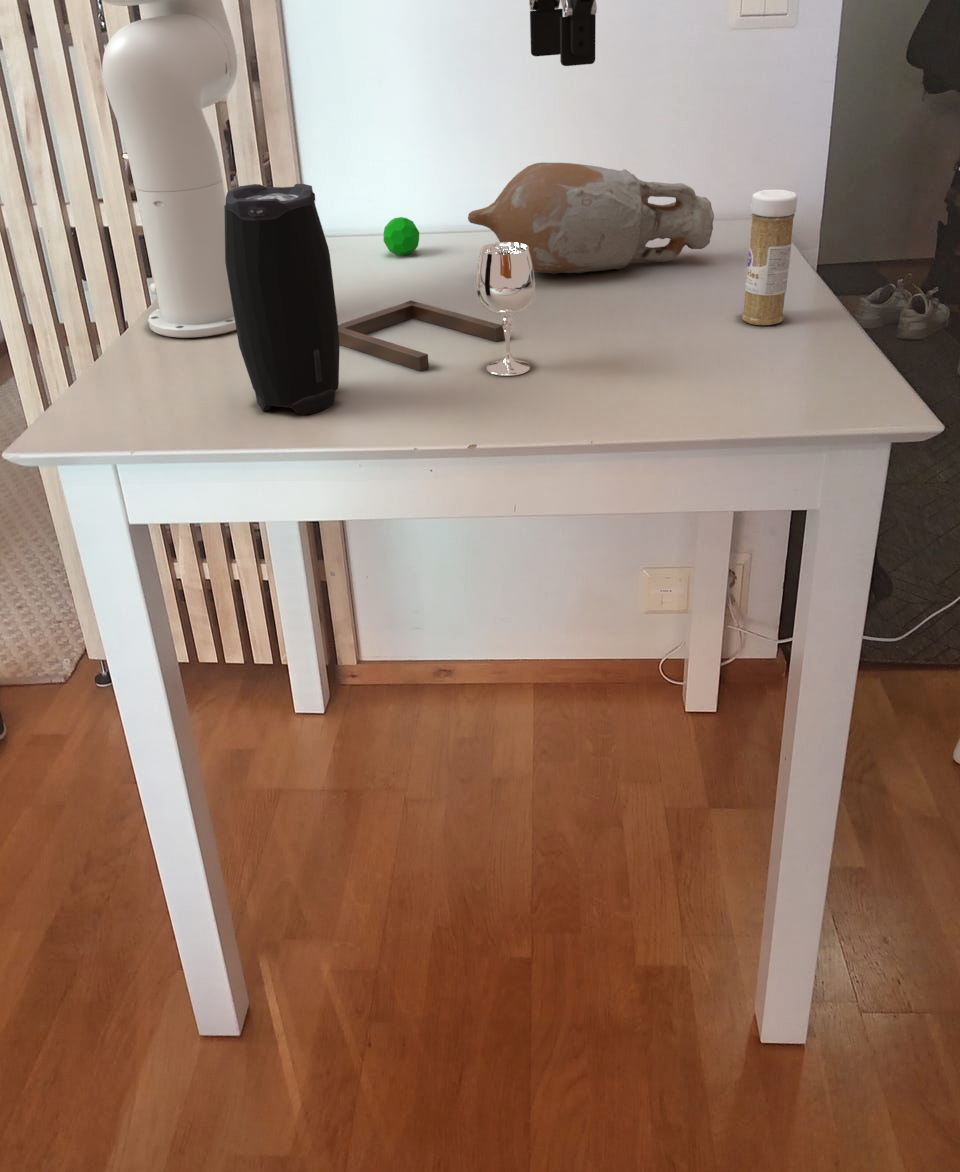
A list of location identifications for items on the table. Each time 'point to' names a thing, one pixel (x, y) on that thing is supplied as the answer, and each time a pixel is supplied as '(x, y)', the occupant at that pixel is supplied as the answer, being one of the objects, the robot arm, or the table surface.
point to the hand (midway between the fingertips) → (561, 59)
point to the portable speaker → (282, 296)
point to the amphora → (594, 217)
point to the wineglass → (506, 292)
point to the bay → (357, 328)
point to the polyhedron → (401, 236)
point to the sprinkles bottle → (769, 256)
